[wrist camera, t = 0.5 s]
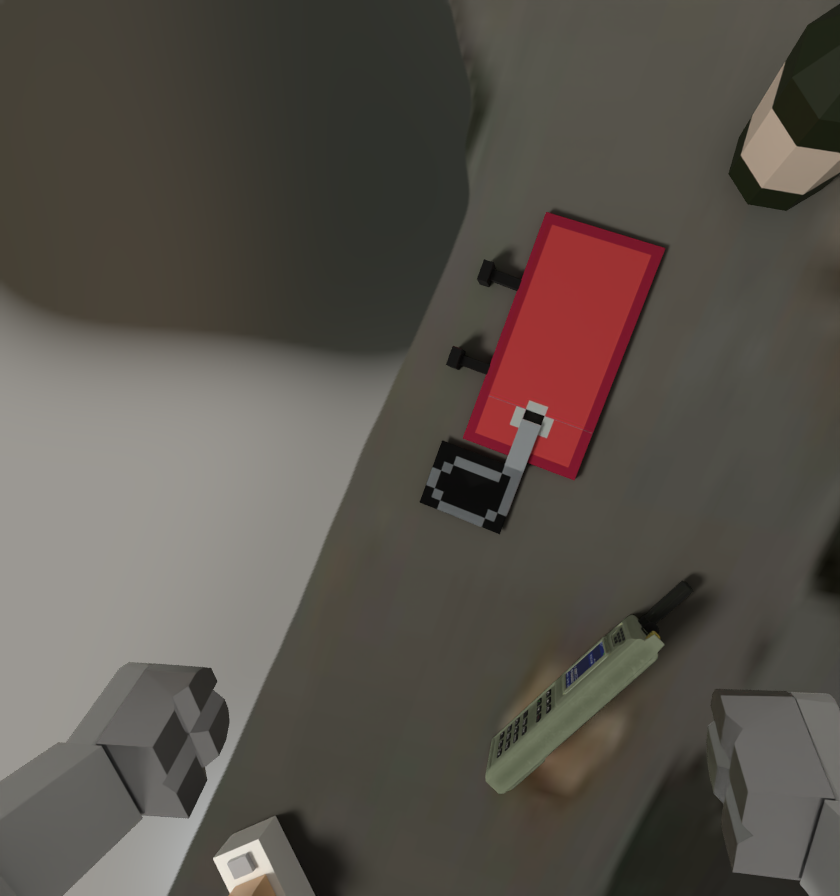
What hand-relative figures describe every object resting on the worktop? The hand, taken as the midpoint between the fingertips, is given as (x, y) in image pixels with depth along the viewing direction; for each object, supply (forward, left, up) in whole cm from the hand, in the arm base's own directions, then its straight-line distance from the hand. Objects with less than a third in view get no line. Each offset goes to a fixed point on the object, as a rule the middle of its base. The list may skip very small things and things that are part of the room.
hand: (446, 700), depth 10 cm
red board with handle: (+8, -2, -53) cm, 54 cm away
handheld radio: (-19, +6, -53) cm, 57 cm away
